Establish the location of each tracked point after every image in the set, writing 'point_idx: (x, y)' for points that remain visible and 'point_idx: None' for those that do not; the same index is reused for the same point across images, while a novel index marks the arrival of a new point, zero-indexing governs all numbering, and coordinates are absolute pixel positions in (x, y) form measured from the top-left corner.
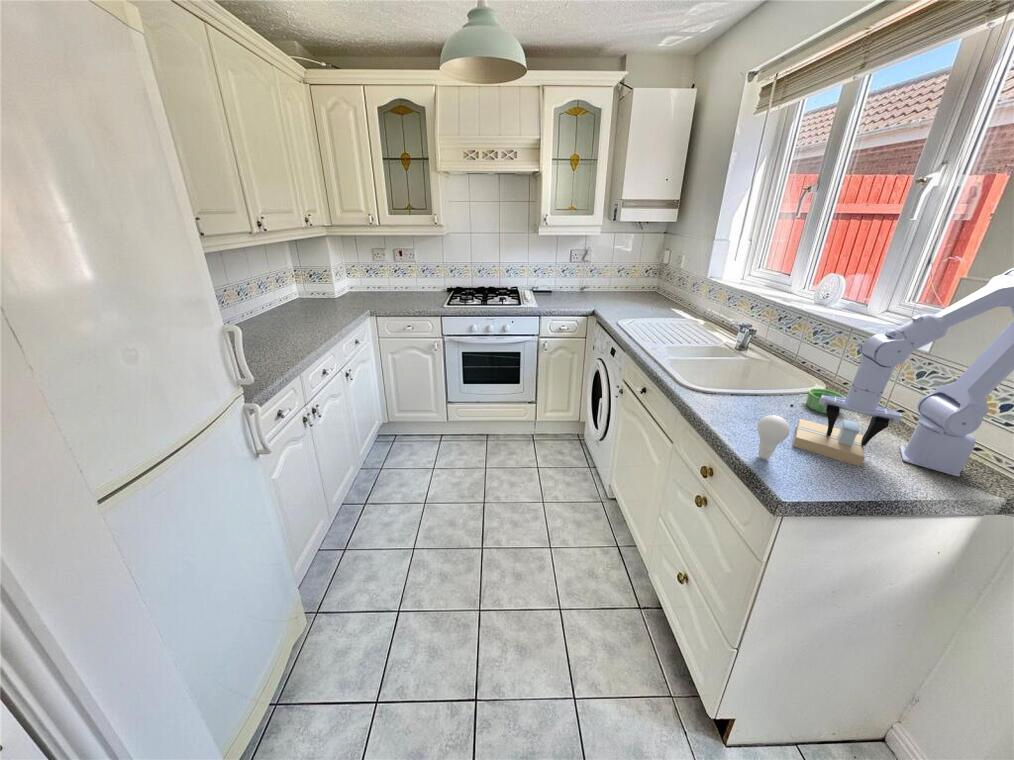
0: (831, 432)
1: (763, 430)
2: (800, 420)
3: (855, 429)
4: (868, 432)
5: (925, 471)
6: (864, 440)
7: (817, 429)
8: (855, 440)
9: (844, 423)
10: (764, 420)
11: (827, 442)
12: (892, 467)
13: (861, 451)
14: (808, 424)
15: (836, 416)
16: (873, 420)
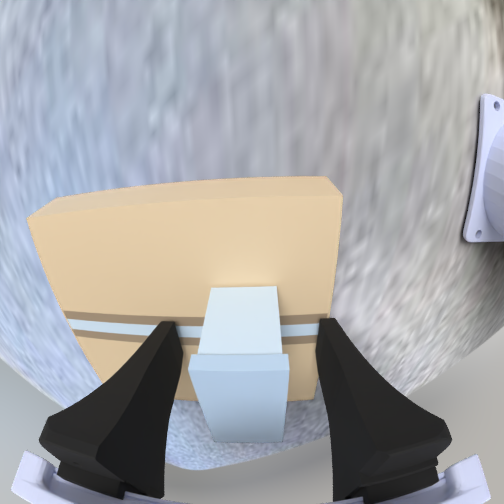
0: (178, 377)
1: None
2: (36, 240)
3: (266, 437)
4: (331, 418)
5: (492, 259)
6: (321, 381)
7: (118, 293)
8: (297, 299)
9: (206, 413)
10: None
11: (190, 382)
12: (411, 306)
13: (309, 377)
14: (71, 264)
15: (158, 478)
16: (344, 484)
